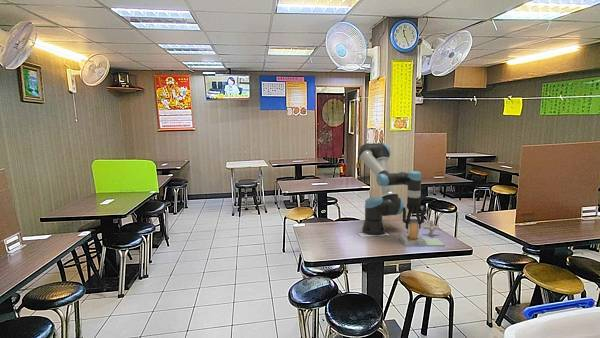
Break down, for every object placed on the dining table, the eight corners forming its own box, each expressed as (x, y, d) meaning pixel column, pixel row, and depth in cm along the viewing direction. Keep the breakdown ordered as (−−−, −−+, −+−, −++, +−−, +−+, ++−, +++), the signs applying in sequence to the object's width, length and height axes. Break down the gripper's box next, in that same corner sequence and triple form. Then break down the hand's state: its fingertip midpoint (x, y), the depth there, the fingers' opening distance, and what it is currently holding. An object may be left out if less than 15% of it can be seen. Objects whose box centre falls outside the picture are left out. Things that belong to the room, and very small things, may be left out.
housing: (399, 239, 200) (399, 234, 199) (418, 238, 199) (418, 234, 199) (405, 246, 188) (405, 241, 187) (425, 245, 187) (425, 241, 187)
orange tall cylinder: (407, 240, 196) (407, 218, 194) (415, 240, 196) (416, 218, 194) (409, 243, 191) (410, 221, 189) (418, 243, 191) (418, 221, 189)
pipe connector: (440, 238, 200) (441, 223, 199) (424, 237, 202) (424, 222, 201) (437, 233, 210) (438, 218, 208) (421, 232, 212) (422, 217, 210)
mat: (421, 239, 198) (421, 238, 198) (437, 239, 197) (437, 238, 197) (427, 246, 187) (427, 245, 187) (444, 246, 186) (444, 244, 186)
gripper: (400, 198, 186) (399, 236, 189) (431, 198, 186) (429, 235, 189) (397, 195, 194) (396, 231, 197) (426, 195, 193) (425, 231, 196)
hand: (412, 233), depth 193 cm, fingers closed on orange tall cylinder, 5 cm apart
